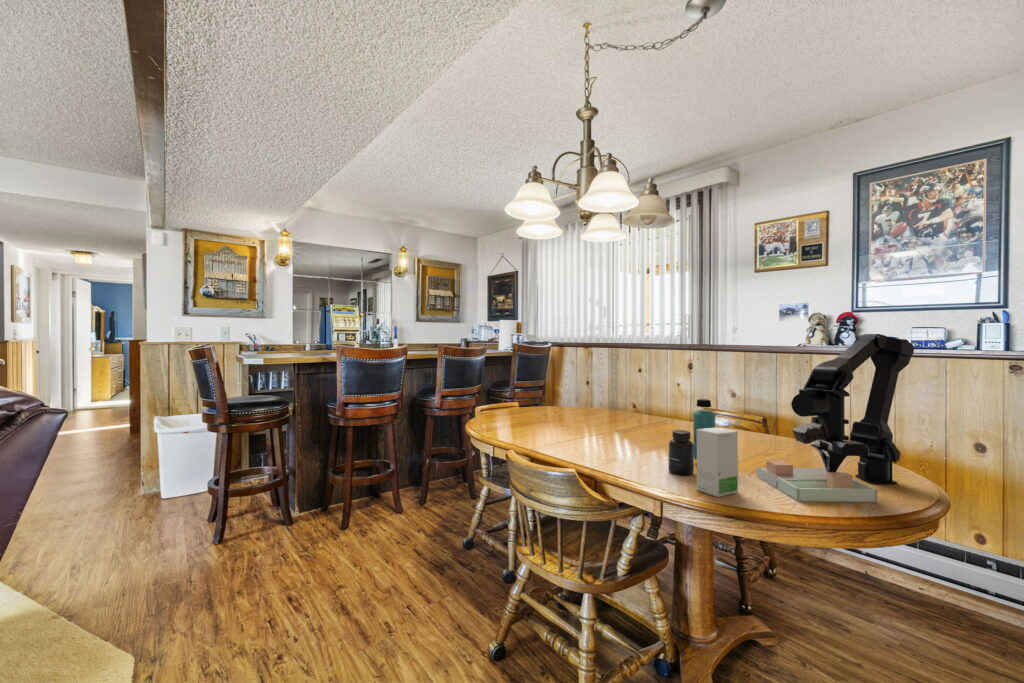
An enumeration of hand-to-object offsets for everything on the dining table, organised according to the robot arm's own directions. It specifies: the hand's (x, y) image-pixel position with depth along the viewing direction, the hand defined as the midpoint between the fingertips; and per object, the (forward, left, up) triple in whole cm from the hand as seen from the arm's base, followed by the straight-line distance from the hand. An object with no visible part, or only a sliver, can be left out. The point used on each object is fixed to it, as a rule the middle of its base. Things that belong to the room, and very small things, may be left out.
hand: (830, 474), depth 111 cm
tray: (+5, +6, -3) cm, 8 cm away
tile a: (+1, +3, -1) cm, 3 cm away
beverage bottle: (+24, -21, -4) cm, 32 cm away
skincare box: (+30, +3, -4) cm, 30 cm away
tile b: (+10, -5, -1) cm, 11 cm away
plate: (+5, -4, -3) cm, 7 cm away
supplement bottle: (+34, -12, -4) cm, 36 cm away
